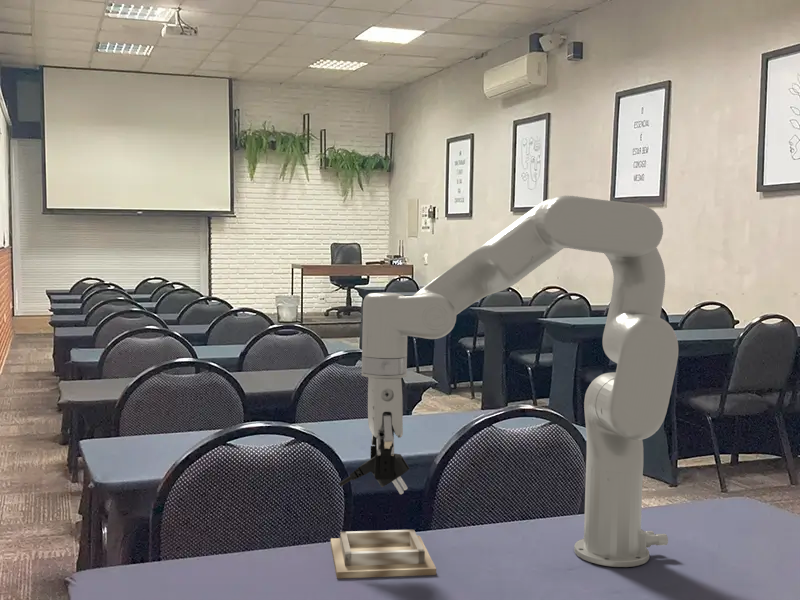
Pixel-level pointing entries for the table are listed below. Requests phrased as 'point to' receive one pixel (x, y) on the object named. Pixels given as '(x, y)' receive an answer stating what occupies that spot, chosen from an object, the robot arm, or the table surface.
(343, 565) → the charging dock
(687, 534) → the table surface
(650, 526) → the table surface
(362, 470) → the power plug
